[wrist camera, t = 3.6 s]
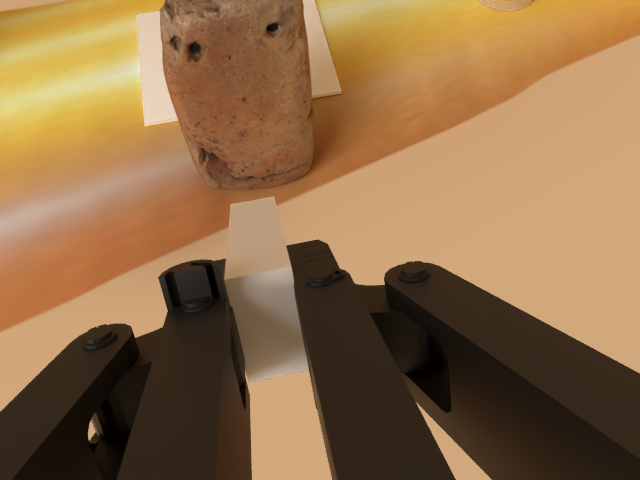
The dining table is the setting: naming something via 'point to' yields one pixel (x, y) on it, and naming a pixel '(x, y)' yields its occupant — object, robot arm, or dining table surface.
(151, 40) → the mat
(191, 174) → the dining table surface
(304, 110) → the block
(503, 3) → the coffee cup
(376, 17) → the dining table surface
